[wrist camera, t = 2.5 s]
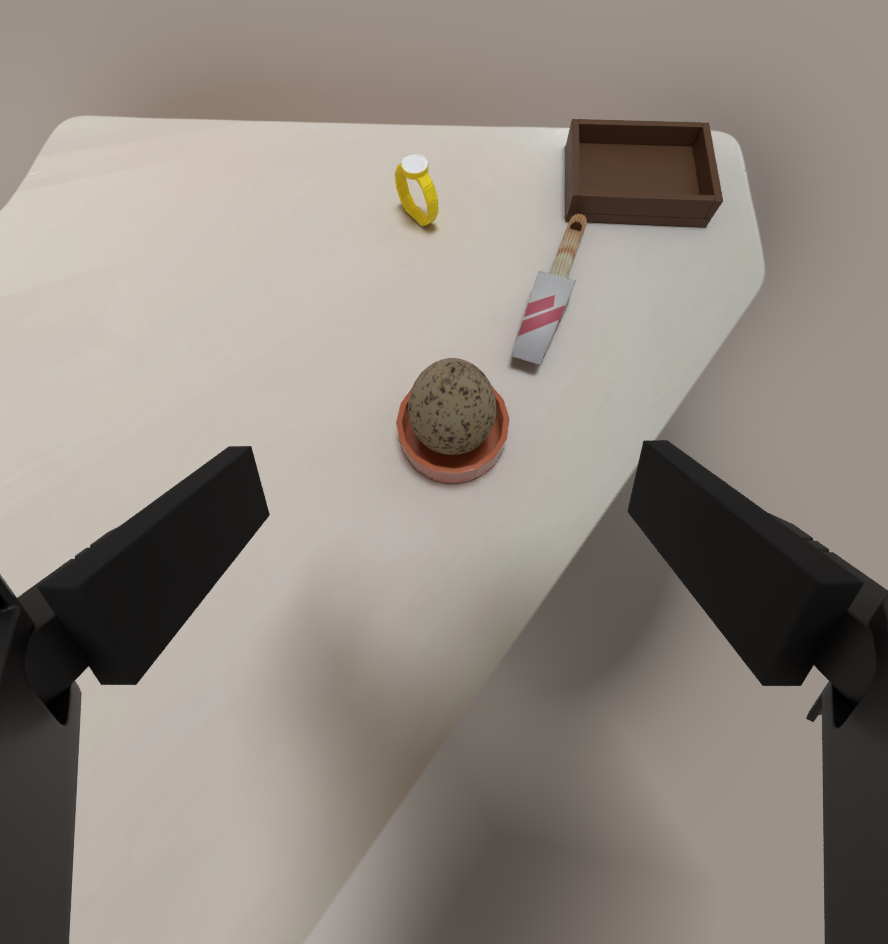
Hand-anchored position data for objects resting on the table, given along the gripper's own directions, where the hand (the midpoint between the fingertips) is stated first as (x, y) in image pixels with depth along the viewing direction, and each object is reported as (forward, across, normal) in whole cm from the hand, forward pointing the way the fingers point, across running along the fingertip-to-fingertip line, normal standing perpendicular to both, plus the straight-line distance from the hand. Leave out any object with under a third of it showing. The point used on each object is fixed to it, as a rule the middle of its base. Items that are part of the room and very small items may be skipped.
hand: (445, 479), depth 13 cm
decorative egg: (+22, 0, -6) cm, 22 cm away
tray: (+44, +22, +16) cm, 52 cm away
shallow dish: (+22, 0, -7) cm, 23 cm away
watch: (+42, -3, +13) cm, 44 cm away
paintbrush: (+33, +11, +5) cm, 35 cm away
